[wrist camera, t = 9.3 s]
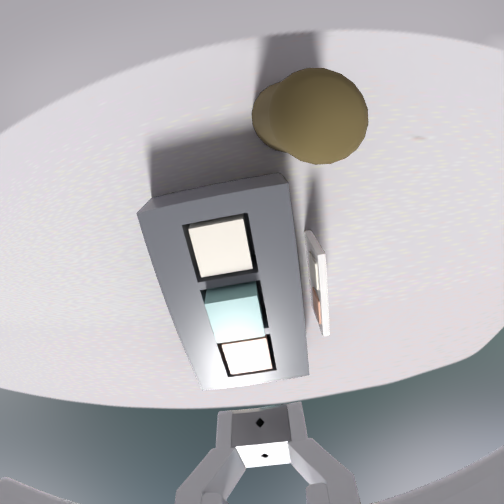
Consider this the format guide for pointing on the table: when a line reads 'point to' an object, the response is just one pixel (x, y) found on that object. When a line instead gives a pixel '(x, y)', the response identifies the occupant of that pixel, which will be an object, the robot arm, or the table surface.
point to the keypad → (237, 274)
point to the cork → (312, 116)
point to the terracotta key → (248, 355)
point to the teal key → (235, 312)
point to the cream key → (221, 245)
